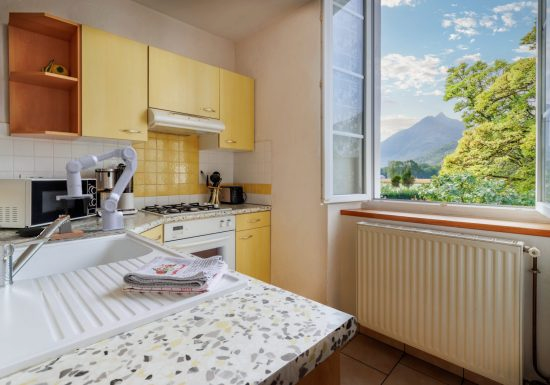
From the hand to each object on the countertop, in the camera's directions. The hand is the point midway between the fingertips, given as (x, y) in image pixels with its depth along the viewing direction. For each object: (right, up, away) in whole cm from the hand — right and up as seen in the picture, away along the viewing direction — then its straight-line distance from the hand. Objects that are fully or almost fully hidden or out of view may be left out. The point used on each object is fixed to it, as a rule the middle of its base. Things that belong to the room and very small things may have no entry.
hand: (76, 213), depth 143 cm
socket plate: (0, -10, -8) cm, 13 cm away
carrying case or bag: (-16, -9, -5) cm, 19 cm away
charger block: (+1, -10, -9) cm, 13 cm away
